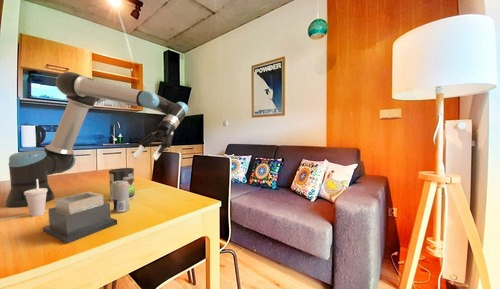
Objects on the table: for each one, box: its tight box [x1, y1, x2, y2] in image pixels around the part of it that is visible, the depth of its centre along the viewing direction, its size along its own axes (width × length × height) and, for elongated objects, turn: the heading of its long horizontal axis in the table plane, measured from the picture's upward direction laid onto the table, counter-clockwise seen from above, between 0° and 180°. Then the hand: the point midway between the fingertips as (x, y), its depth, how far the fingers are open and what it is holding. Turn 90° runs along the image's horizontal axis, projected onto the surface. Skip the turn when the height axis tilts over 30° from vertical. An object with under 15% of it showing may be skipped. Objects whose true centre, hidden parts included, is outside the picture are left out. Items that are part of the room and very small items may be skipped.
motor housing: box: [42, 191, 118, 245], centre depth 68 cm, size 16×14×10 cm
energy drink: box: [112, 180, 130, 214], centre depth 83 cm, size 5×5×12 cm
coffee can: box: [108, 167, 136, 202], centre depth 99 cm, size 10×10×14 cm
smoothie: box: [24, 179, 48, 217], centre depth 79 cm, size 6×6×14 cm
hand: (143, 157), depth 93 cm, fingers open, 13 cm apart
